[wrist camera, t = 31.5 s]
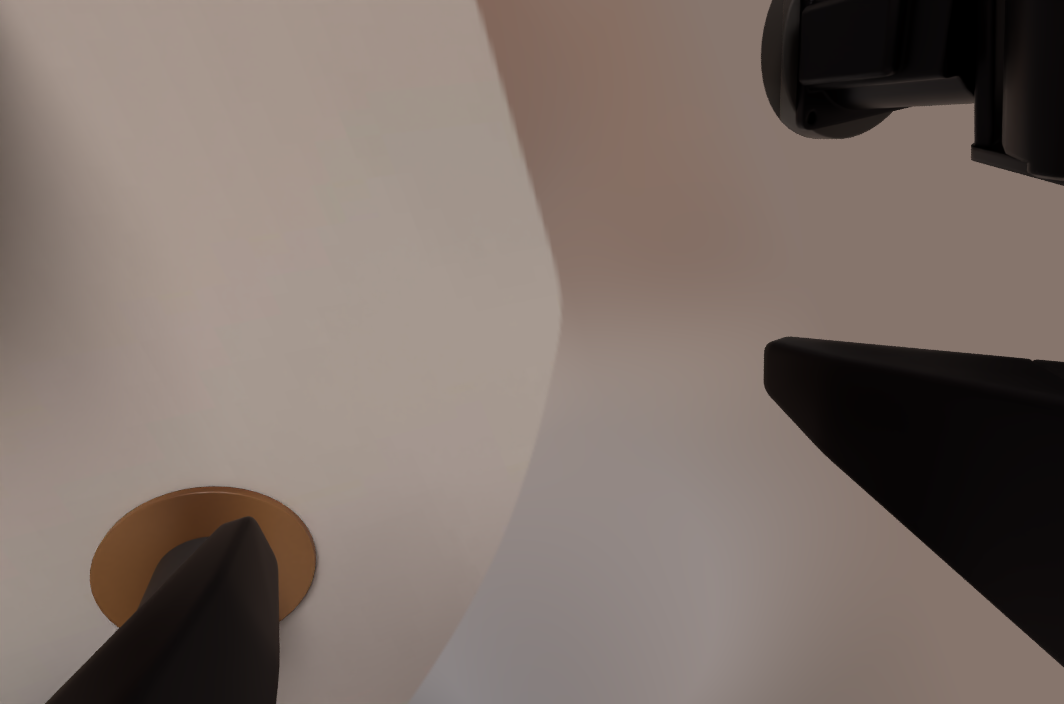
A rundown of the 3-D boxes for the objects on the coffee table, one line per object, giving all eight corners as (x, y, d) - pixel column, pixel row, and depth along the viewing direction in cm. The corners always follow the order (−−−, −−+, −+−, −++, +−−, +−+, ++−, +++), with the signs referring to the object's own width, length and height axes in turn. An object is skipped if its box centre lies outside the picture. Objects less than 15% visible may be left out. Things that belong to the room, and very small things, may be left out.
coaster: (275, 459, 21) (274, 464, 21) (340, 596, 24) (340, 603, 24) (49, 530, 19) (43, 537, 19) (153, 667, 23) (150, 675, 22)
